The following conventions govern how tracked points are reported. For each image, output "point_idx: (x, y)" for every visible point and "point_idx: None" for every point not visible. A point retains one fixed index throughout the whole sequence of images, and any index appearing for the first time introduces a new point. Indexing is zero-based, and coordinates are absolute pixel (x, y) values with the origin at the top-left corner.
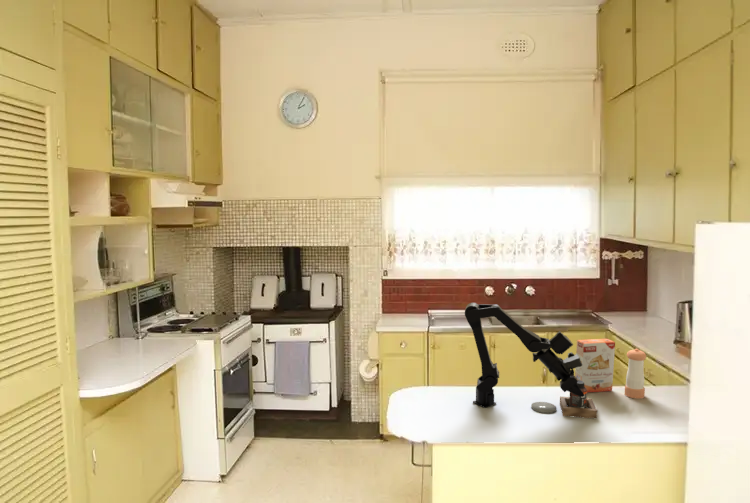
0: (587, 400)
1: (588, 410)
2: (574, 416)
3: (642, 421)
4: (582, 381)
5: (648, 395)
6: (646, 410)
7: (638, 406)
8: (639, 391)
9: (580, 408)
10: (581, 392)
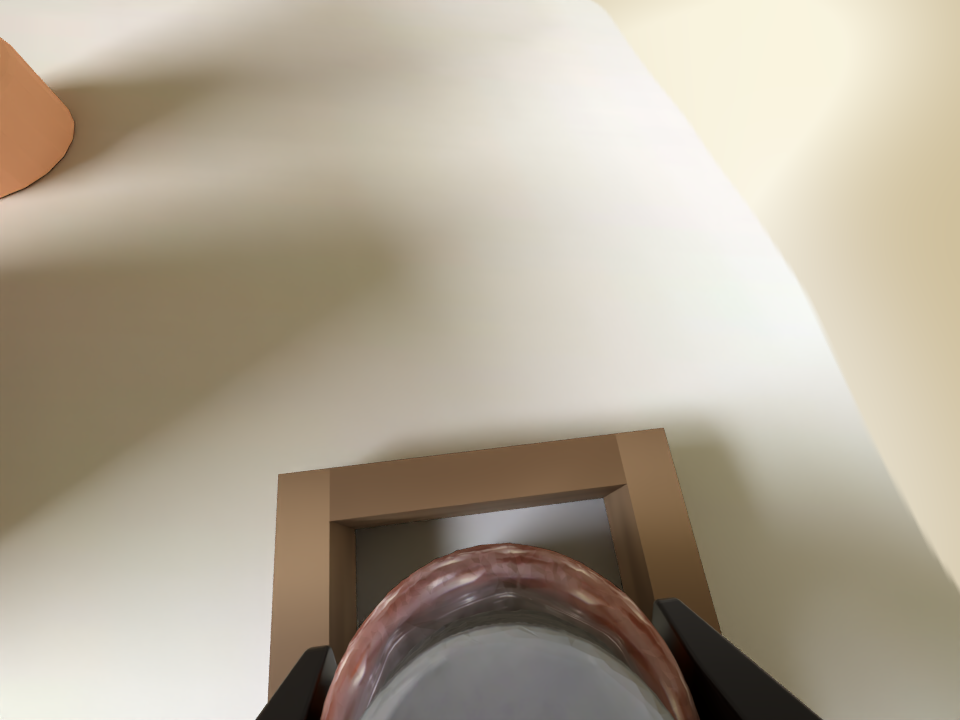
0: (333, 533)
1: (688, 528)
2: None
3: (535, 141)
4: (446, 695)
5: None
6: (313, 105)
7: (241, 140)
8: (23, 68)
9: None
10: (753, 677)
